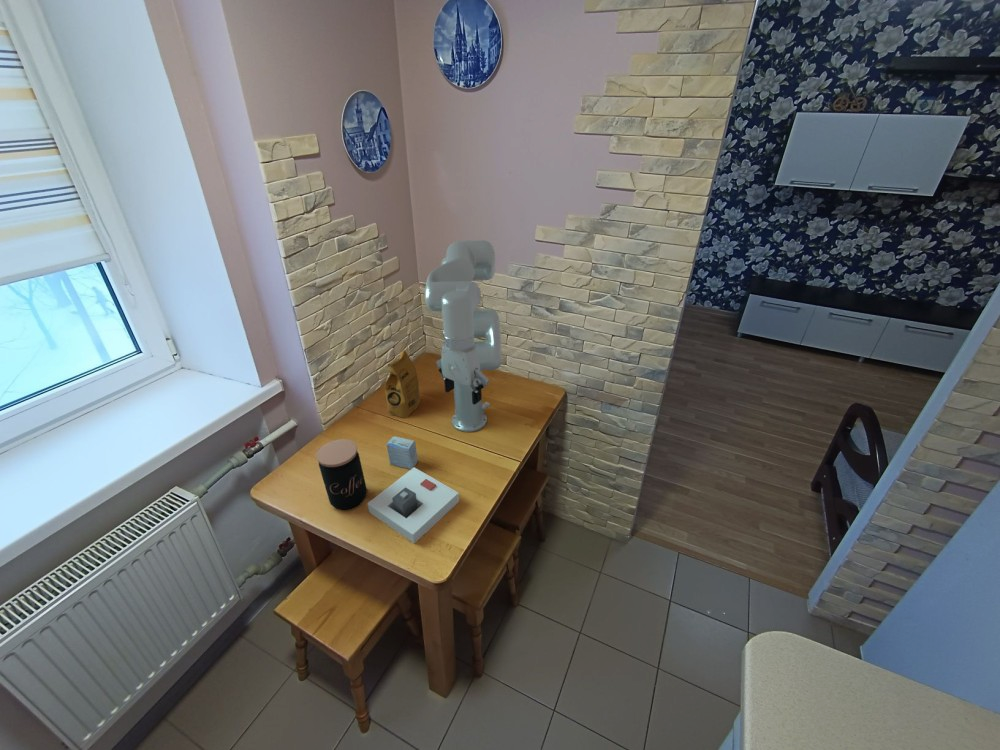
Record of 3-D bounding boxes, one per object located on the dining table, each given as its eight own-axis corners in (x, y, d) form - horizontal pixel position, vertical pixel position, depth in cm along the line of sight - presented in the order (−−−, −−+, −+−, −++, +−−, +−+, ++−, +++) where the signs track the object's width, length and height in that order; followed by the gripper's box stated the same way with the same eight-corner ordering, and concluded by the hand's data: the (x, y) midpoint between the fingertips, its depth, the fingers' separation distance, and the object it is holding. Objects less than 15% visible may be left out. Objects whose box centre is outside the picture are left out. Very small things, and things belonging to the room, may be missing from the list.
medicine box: (418, 461, 147) (415, 440, 143) (411, 470, 143) (408, 449, 139) (397, 456, 149) (393, 435, 145) (389, 465, 146) (386, 444, 141)
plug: (408, 504, 131) (405, 485, 127) (418, 511, 129) (415, 491, 125) (395, 516, 128) (391, 496, 124) (405, 522, 126) (402, 503, 122)
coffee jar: (332, 517, 128) (318, 469, 118) (328, 491, 136) (314, 444, 127) (370, 505, 131) (360, 457, 122) (364, 480, 140) (354, 434, 130)
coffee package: (384, 414, 169) (374, 363, 157) (402, 397, 178) (394, 347, 167) (407, 420, 165) (399, 368, 154) (424, 402, 175) (418, 352, 164)
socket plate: (415, 475, 141) (413, 465, 139) (459, 501, 132) (458, 491, 130) (369, 512, 129) (366, 502, 127) (414, 543, 120) (412, 533, 118)
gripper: (424, 336, 117) (430, 392, 126) (476, 355, 109) (479, 413, 118) (444, 326, 123) (448, 380, 132) (495, 343, 114) (496, 400, 123)
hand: (463, 396), depth 125 cm, fingers open, 9 cm apart
